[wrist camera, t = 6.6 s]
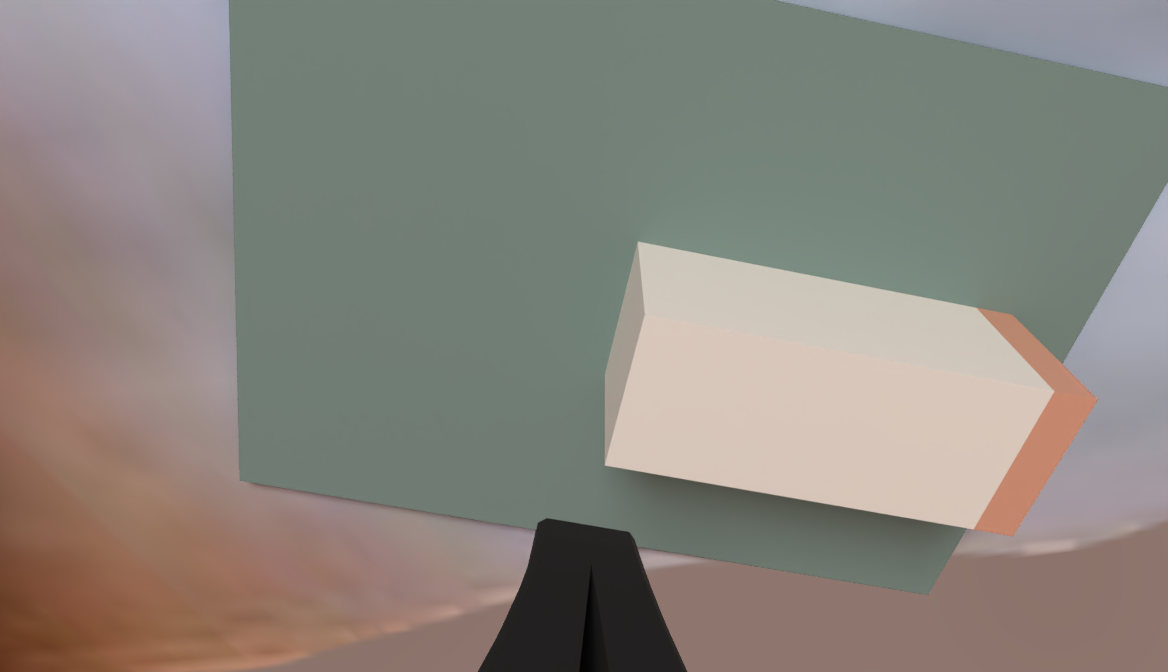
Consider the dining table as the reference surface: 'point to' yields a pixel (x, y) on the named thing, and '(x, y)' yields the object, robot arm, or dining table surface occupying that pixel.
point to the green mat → (628, 234)
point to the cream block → (834, 392)
